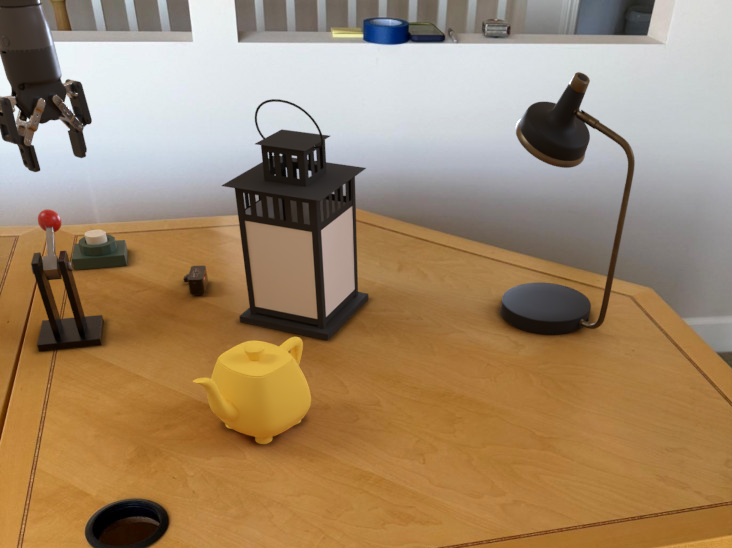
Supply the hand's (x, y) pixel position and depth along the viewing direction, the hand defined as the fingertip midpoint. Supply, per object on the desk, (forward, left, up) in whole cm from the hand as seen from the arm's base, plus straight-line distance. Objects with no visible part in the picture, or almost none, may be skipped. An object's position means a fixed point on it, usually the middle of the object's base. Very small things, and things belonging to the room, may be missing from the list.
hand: (57, 163), depth 120 cm
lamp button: (-1, +26, -22) cm, 34 cm away
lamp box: (-1, +26, -26) cm, 37 cm away
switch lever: (-4, 0, -13) cm, 14 cm away
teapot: (+24, -40, -26) cm, 53 cm away
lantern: (+36, -5, -26) cm, 45 cm away
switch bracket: (-4, -6, -26) cm, 27 cm away
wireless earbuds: (+17, +9, -26) cm, 33 cm away
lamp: (+79, -17, -26) cm, 85 cm away
